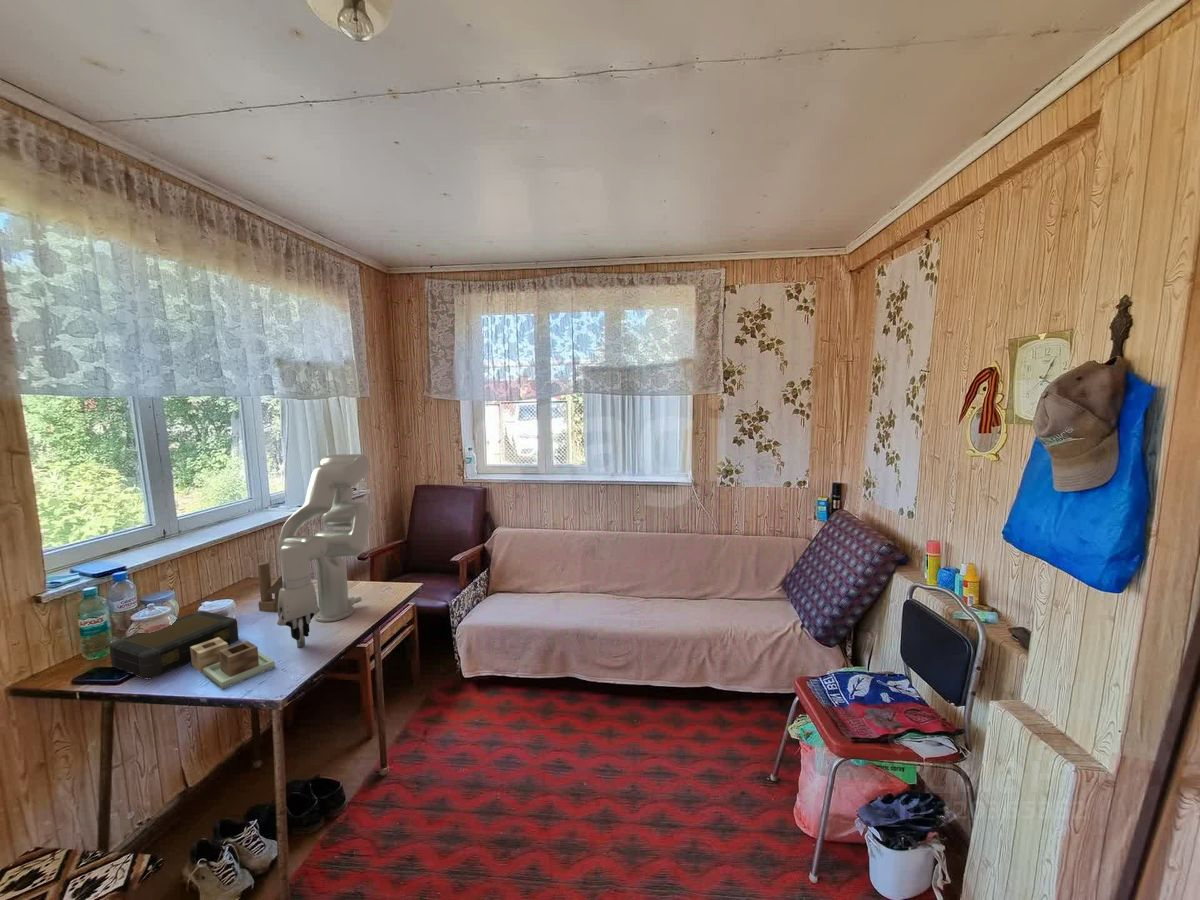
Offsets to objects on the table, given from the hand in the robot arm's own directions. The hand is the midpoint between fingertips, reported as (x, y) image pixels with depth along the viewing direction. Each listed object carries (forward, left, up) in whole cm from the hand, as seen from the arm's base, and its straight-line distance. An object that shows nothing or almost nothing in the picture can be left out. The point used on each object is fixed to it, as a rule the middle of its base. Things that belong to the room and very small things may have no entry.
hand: (300, 636), depth 155 cm
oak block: (+20, -12, -3) cm, 24 cm away
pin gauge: (0, 0, -3) cm, 3 cm away
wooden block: (-8, -37, -3) cm, 38 cm away
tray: (+17, 0, -3) cm, 17 cm away
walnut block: (+17, 0, -2) cm, 17 cm away
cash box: (+23, -29, -4) cm, 37 cm away
